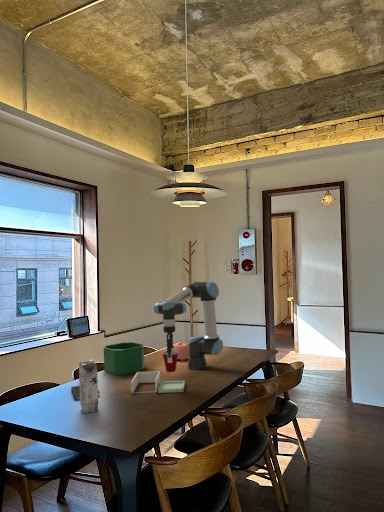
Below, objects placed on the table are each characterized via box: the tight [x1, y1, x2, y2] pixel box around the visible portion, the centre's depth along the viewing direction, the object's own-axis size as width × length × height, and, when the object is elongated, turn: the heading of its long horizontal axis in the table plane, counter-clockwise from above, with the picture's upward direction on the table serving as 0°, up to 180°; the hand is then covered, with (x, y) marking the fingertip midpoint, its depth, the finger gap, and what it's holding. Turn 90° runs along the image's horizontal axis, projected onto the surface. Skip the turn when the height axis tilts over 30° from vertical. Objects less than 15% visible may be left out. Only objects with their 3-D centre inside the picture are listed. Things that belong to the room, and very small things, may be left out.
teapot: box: [173, 341, 189, 362], centre depth 329 cm, size 22×13×14 cm, turn 71°
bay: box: [130, 370, 162, 395], centre depth 254 cm, size 23×16×7 cm
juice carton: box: [78, 359, 99, 414], centre depth 217 cm, size 9×10×27 cm
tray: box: [157, 380, 186, 394], centre depth 250 cm, size 18×16×2 cm
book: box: [70, 385, 101, 401], centre depth 247 cm, size 22×15×3 cm
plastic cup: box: [161, 351, 179, 373], centre depth 251 cm, size 11×11×12 cm
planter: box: [103, 341, 145, 376], centre depth 304 cm, size 26×26×18 cm
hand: (170, 360), depth 251 cm, fingers closed on plastic cup, 11 cm apart
